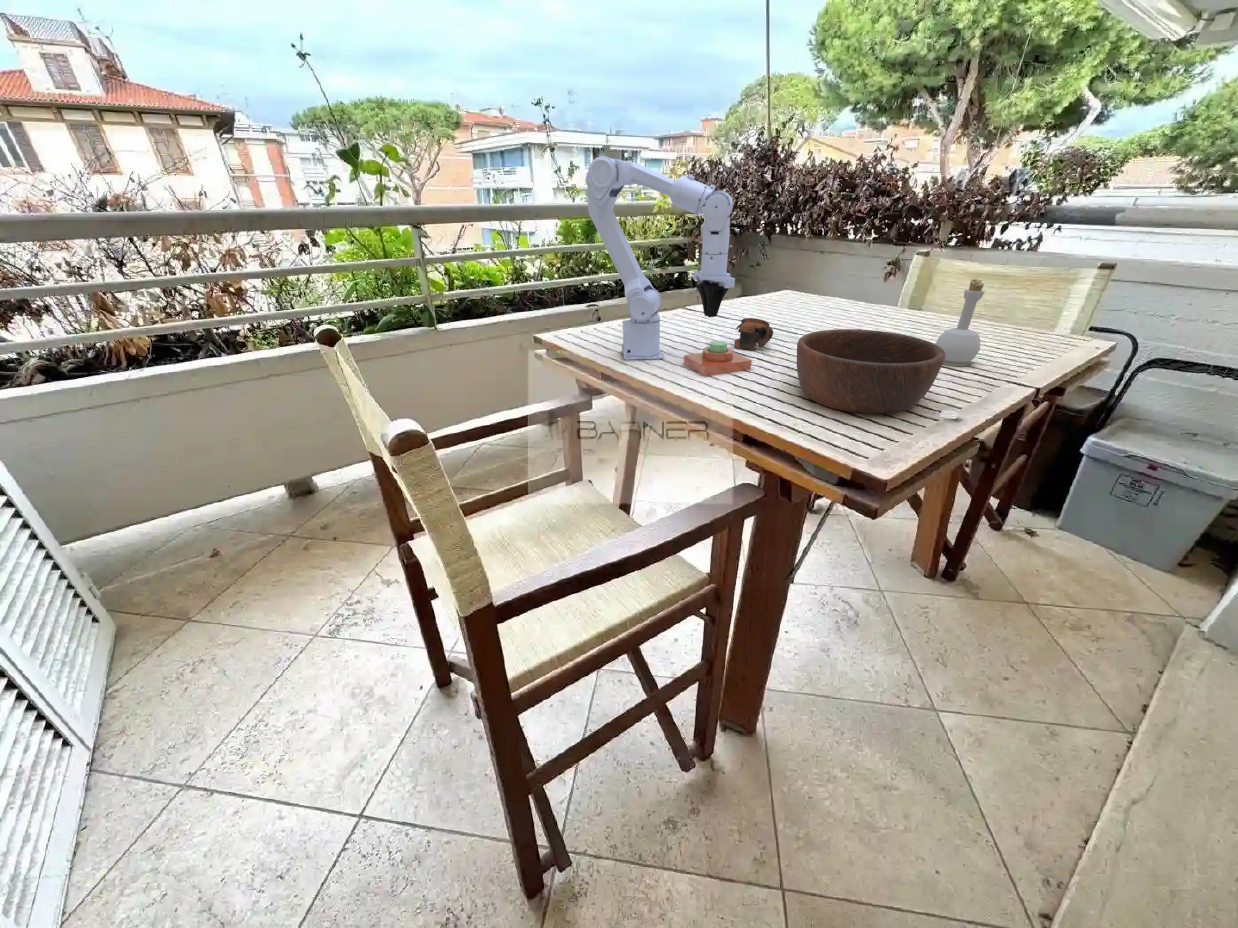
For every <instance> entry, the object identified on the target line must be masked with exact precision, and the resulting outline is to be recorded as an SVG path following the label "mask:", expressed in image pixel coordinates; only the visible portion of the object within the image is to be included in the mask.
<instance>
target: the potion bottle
mask: <svg viewBox="0 0 1238 928" xmlns="http://www.w3.org/2000/svg"><path fill="white" fill-rule="evenodd" d="M984 286H985V283H983V282H982V280H981V279H977V278H976V279H975V278H973V279H971V280H970V283H969V287H968V288H967V289H964V291H963V299H964V304H963V307H962V311H961V313H960V317H959V320H958V323H957V326H956V327H953V328H948V329H945V330H944V331H943V332H942V333H941V334H940V335H939V337H938V338H937V340H936V341H935V343H934V344H936V345H937V346H939V347H940V348H942V349H943V350H944V352H945V360H944V362H943V365H946V366H952V367H953V366H954V367H967V366H969V365H970V364H971V361H973V360H974V359H975V358H976V357H977V355H978V353H979V352H980V351H981V338H980V335H979V333H978V332H976V331H975V330H971V329H970V328H969V327H970V324H971V321H972V318H973V315H974V312H975V309H976V306H977V303H978V302H979V301H980V300H981V299H982V298H983V297H984V294H985V292H986V290H983V288H984Z"/></svg>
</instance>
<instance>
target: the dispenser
mask: <svg viewBox="0 0 1238 928" xmlns="http://www.w3.org/2000/svg"><path fill="white" fill-rule="evenodd" d="M683 365H684V366H686V367H687V368H689V369H691V370H693V371H694V372H697V373H698V374H700V375H702V376H703V377H710V376H711V377H712V376H716V375H724V374H729V373H737V372H742V371H748V370H749V371H750V370H751V369H752V359H750V358H747V357H745V356H743V355H741V354H739V353H737V352H734V349H733V348H730V347H729V346H727V352H724V353H714V352H710V351H709V346H705V347H703V348H702V352H699V353H691V354H684V355H683Z"/></svg>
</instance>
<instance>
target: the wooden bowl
mask: <svg viewBox="0 0 1238 928" xmlns="http://www.w3.org/2000/svg"><path fill="white" fill-rule="evenodd" d="M944 360H945V352H944V350H943V349H942V348H940V347H939V346H937V345H936V344H935V343H934V342H931V341H929V340H927V339H922V338H920V337H916V336H911V335H907V334H902V333H896V332H891V331H882V330H873V329H860V328H859V329H856V328H855V329H853V328H845V329H844V328H842V329H841V328H839V329H837V328H835V329H824V330H818V331H813V332H809V333H807V334H804V335H802V336H801V337H800V338H799V339H798V341H797V345H796V373H797V378H798V382H799V385H800V387H801V390H802V391H803V393H804V394H805V396H806V397H808V398H809V399H810V400H812V401H813V402H816V403H817V404H819V405H821V406H824V407H826V408H830V409H834V410H838V411H842V412H845V413H851V414H852V413H853V414H862V415H891V414H897V413H898V414H899V413H902V412H904V411H907V410H909V409H912V408H913V407H915V405H917V404H918V403H920V401H921V400H922V399H923V398H924V397H925V396H926V395H927V394H928V392H929V391H930V389H931V388H932V386H933V384H934V382H935V381H936V379H937V377H938V375H939V373H940V371H941V368H942V367H943V365H944V364H943V362H944Z"/></svg>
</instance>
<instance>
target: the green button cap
mask: <svg viewBox="0 0 1238 928" xmlns="http://www.w3.org/2000/svg"><path fill="white" fill-rule="evenodd" d="M708 344H709V345H708V347H709V351H710V352H714V353H724V352H727V347H728V342H727V341H725V340H711V341H709V343H708Z"/></svg>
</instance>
